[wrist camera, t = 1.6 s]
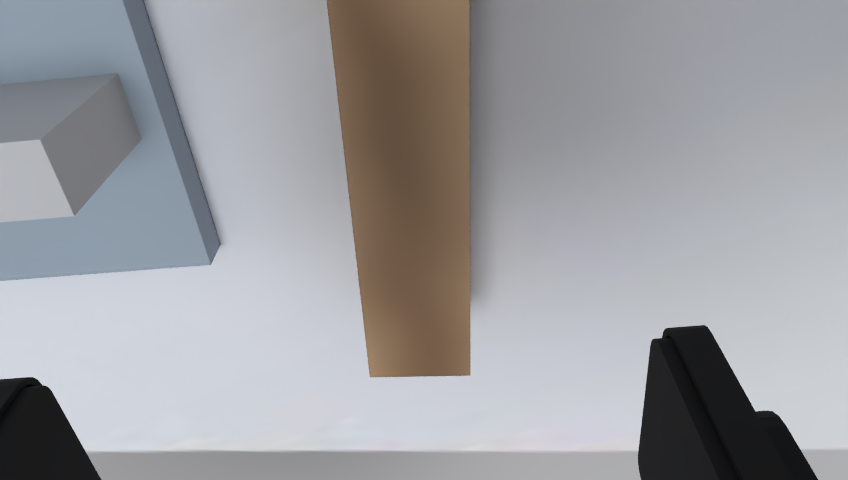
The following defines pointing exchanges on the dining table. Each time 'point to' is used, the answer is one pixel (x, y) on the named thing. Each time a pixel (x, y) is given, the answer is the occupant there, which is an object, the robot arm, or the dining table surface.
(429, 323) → the walnut batten
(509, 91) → the dining table surface
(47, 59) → the ridge stand
